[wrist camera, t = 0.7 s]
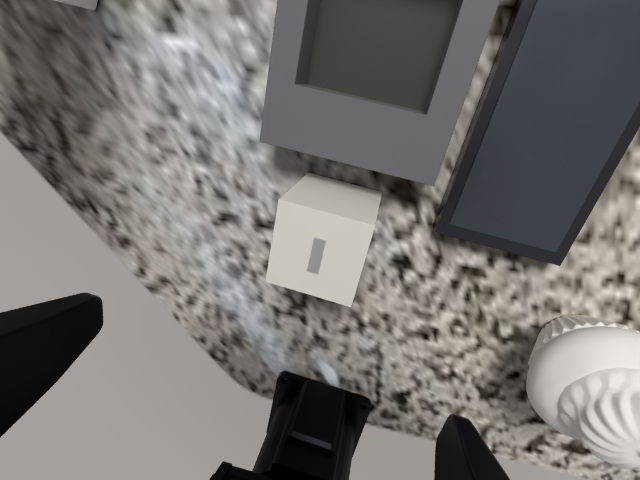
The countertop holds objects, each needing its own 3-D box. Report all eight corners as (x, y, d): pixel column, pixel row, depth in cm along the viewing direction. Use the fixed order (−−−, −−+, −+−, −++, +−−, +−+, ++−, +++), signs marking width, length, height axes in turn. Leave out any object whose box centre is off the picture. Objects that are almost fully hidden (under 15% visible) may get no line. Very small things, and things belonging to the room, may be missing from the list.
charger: (362, 258, 20) (350, 308, 16) (295, 238, 21) (264, 282, 16) (382, 191, 19) (375, 226, 14) (308, 172, 19) (278, 199, 14)
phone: (552, 256, 18) (560, 266, 17) (433, 224, 19) (435, 232, 18) (712, -34, 13) (737, -43, 12) (540, -63, 13) (551, -75, 12)
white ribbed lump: (630, 276, 18) (756, 383, 11) (646, 373, 19) (763, 511, 13) (496, 305, 20) (538, 408, 13) (521, 389, 21) (569, 516, 15)
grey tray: (430, 173, 18) (434, 186, 15) (276, 134, 18) (258, 141, 16) (531, -120, 13) (558, -163, 11) (318, -154, 14) (302, -200, 12)
